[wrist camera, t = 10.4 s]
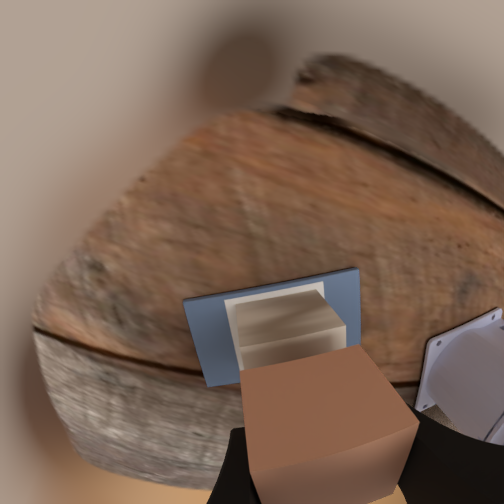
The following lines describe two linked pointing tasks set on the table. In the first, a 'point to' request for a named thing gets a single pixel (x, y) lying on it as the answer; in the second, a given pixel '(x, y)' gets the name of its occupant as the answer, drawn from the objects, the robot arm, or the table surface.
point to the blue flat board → (224, 305)
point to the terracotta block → (325, 429)
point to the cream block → (287, 329)
